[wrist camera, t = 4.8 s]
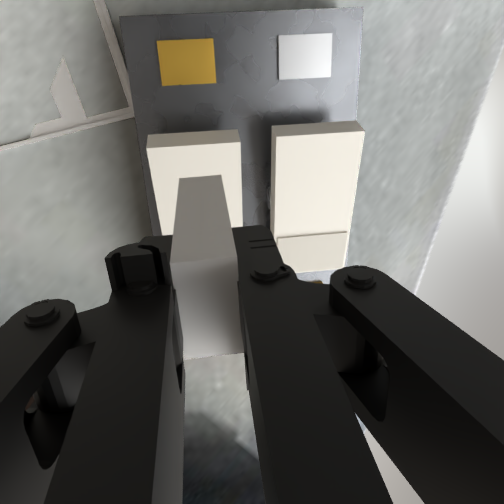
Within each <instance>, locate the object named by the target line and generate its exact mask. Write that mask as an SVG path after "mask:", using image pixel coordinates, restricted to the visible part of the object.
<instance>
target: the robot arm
mask: <svg viewBox="0 0 504 504" xmlns="http://www.w3.org/2000/svg"><path fill="white" fill-rule="evenodd" d="M105 262H106V267H107V271H108V275H109V280H110V284H111V288H112V293H111V296H110V299H109V302H108V303H107V304H105V305H103V306H100V307H97V308H94V309H90V310H87V311H83V312H80V313H77V312H76V309H75V305H74V304H73V303H72V302H70V301H68V300H62V299H52V300H49V299H47V300H42V301H41V302H40V301H38V302H35V303H33V304H31V305H29V306H27V307H25V308H23V309H21V310H20V311H18V312H17V313H16V314H14V315H13V316H12V317H11V318H10V319H9V320H8V321H7V322H6V323H5V324H4V325H3V326H1V327H0V504H182V490H183V449H184V407H185V369H184V362H183V351H184V358H185V360H187V359H195V358H204V357H212V356H221V355H229V354H237V353H244V357H245V370H246V383H247V390H249V395H250V402H251V408H252V415H253V422H254V428H255V435H256V442H257V448H258V455H259V462H260V469H261V475H262V482H263V489H264V495H265V502H266V504H393V502H392V500H391V498H390V495H389V493H388V490H387V488H386V486H385V483H384V481H383V478H382V476H381V474H380V471H379V469H378V467H377V464H376V462H375V460H374V457H373V455H372V452H371V450H370V448H369V445H368V443H367V441H366V438H365V436H364V434H363V431H362V429H361V427H360V424H359V422H358V419H357V417H356V415H355V413H356V414H357V416H358V417H359V418H360V420H361V421H362V422H363V424H364V425H365V426H366V428H367V429H368V430H369V431H370V433H371V434H372V435H373V437H374V438H375V439H376V441H377V442H378V443H379V444H380V446H381V447H382V448H383V450H384V451H385V452H386V454H387V455H388V456H389V458H390V459H391V460H392V461H393V463H394V464H395V465H396V466H397V468H398V469H399V471H400V472H401V473H402V475H403V476H404V477H405V478H406V480H407V481H408V482H409V484H410V485H411V486H412V488H413V489H414V490H415V491H416V493H417V494H418V495H419V497H420V498H421V499H422V501H423V502H424V503H425V504H504V360H502V359H501V358H500V357H498V356H497V355H496V354H494V353H493V352H491V351H490V350H489V349H487V348H486V347H485V346H483V345H482V344H480V343H479V342H478V341H476V340H475V339H474V338H472V337H471V336H470V335H468V334H467V333H465V332H464V331H462V330H461V329H460V328H459V327H457V326H456V325H455V324H453V323H452V322H450V321H449V320H448V319H446V318H445V317H444V316H442V315H441V314H440V313H438V312H437V311H435V310H434V309H433V308H431V307H430V306H429V305H427V304H426V303H425V302H423V301H422V300H420V299H419V298H418V297H416V296H415V295H414V294H412V293H411V292H409V291H408V290H407V289H405V288H404V287H403V286H401V285H400V284H399V283H397V282H396V281H394V280H393V279H392V278H390V277H389V276H388V275H386V274H385V273H383V272H381V271H379V270H377V269H374V268H370V267H367V266H359V265H355V266H350V267H343V268H341V269H338V270H336V271H334V272H333V273H332V274H331V275H330V284H322V283H312V282H306V281H302V280H299V279H298V278H297V276H296V273H295V271H294V270H293V269H292V268H291V267H290V266H288V265H286V264H284V262H283V260H282V257H281V255H280V252H279V250H278V247H277V245H276V242H275V240H274V237H273V234H272V232H271V230H269V229H267V228H266V227H264V226H263V225H254V226H243V227H233V228H231V222H230V217H229V212H228V207H227V202H226V197H225V192H224V187H223V181H222V176H221V175H211V176H200V177H188V178H179V185H178V194H177V203H176V212H175V221H174V230H173V235H162V236H152V237H145V238H144V239H142V240H141V241H140V242H139V243H134V244H129V245H125V246H122V247H119V248H117V249H115V250H113V251H112V252H110V253H109V254H108V255H107V256H106V257H105ZM32 396H33V398H34V402H33V403H32V404H31V406H30V407H29V408H28V409H27V410H25V408H26V406H27V404H28V402H29V400H30V398H31V397H32Z"/></svg>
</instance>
